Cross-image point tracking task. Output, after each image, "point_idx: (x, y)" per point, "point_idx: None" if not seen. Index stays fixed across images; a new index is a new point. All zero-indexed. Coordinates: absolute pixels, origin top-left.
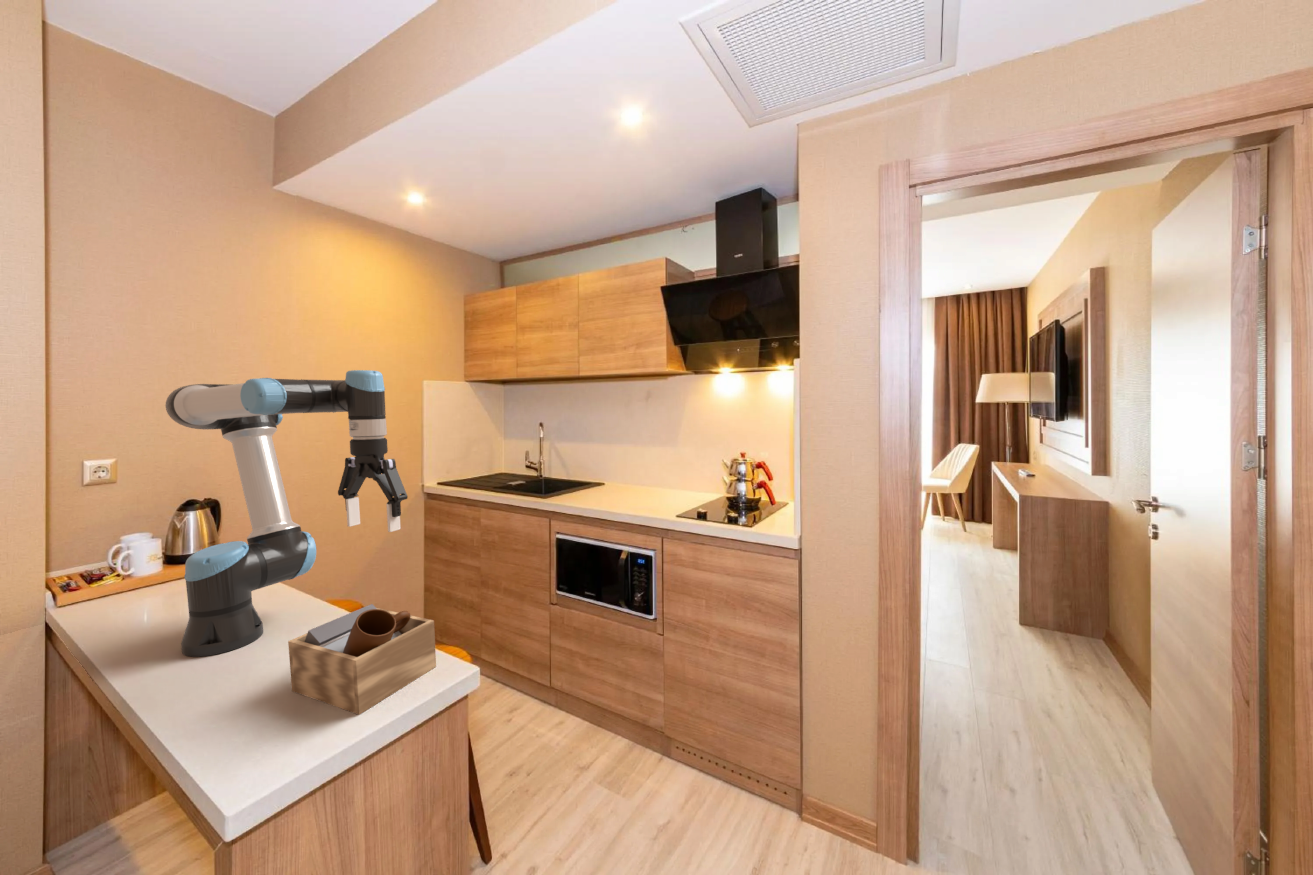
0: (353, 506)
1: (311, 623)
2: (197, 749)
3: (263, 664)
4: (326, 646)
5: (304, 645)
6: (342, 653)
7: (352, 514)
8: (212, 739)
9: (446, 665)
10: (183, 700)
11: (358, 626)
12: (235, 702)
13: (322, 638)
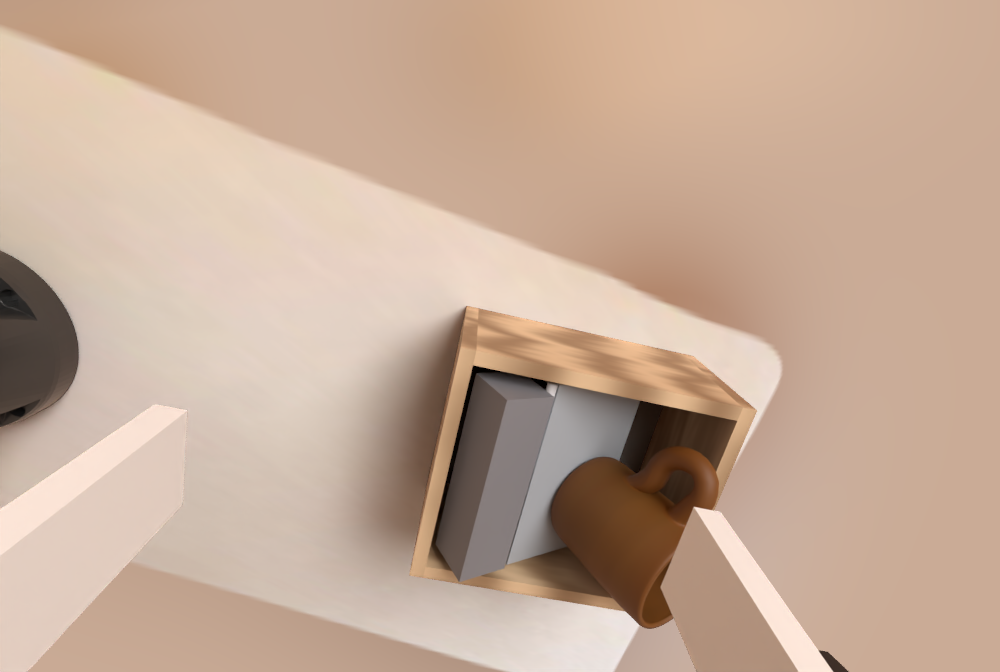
0: (15, 622)
1: (112, 180)
2: (425, 630)
3: (243, 414)
4: (513, 549)
5: (475, 584)
6: (608, 598)
7: (103, 555)
8: (423, 611)
9: (716, 346)
10: (233, 545)
11: (654, 624)
12: (348, 534)
13: (499, 559)
